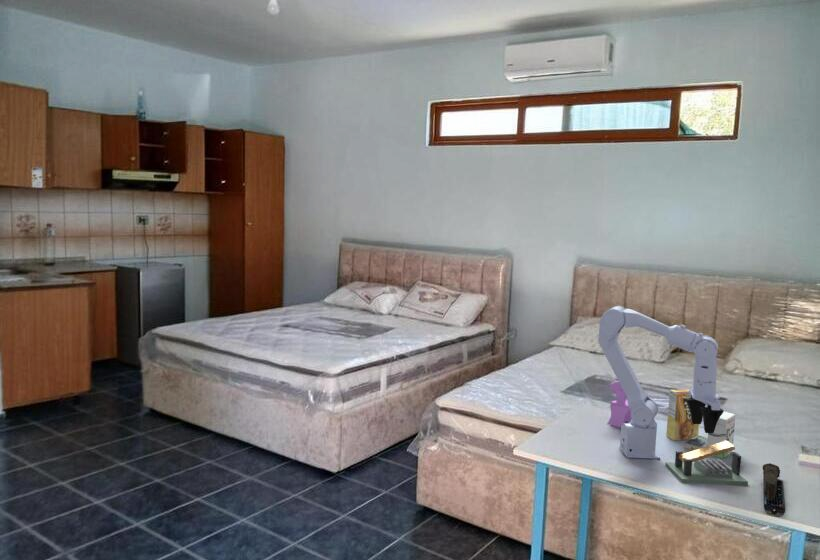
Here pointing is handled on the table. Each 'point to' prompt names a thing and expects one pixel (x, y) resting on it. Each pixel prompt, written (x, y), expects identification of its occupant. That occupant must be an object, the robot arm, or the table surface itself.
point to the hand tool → (770, 480)
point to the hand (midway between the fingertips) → (702, 428)
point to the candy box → (680, 417)
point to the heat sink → (711, 466)
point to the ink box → (723, 432)
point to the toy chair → (619, 406)
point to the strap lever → (707, 451)
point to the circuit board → (700, 478)
